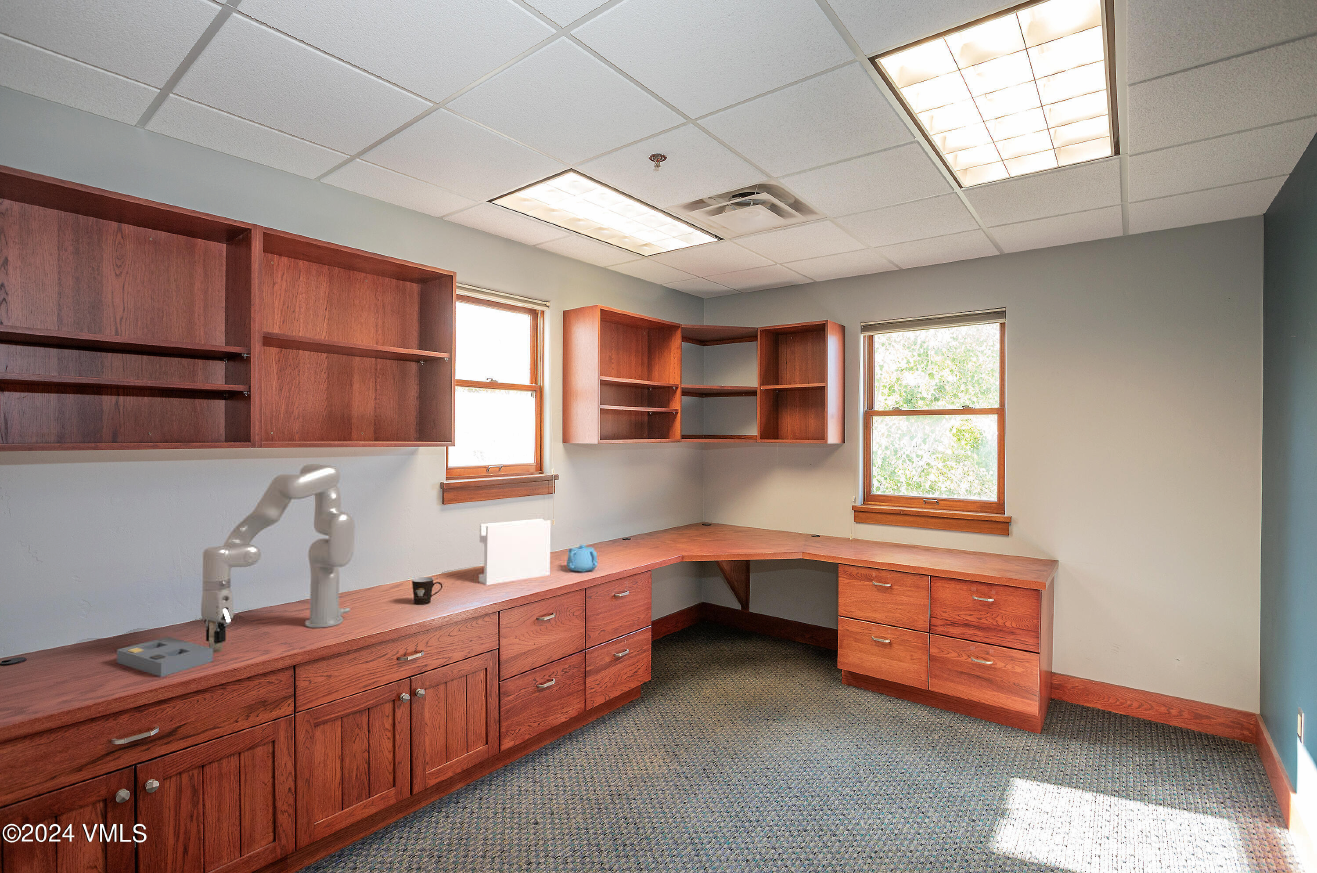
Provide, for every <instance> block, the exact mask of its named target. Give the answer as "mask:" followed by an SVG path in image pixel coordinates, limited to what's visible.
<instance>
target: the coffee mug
mask: <svg viewBox="0 0 1317 873" xmlns="http://www.w3.org/2000/svg"><path fill="white" fill-rule="evenodd" d="M411 582H412V583H411V586H412V594H413V604H414V605H416V606H425V605H429V604H430V603H431V600H432V597H434V596H435V595H437V594H438V593H439V592H441V590H442V589H443V583H441V582H440V581H435V582H434V577H432V576H431V577H430V576H421V577H414V578H412V579H411ZM436 584H439V585H440V588H439V589H438V591H436V592H434V593H433V588H434V587H435V585H436ZM432 593H433V594H432Z"/></svg>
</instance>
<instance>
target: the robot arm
mask: <svg viewBox="0 0 1317 873" xmlns="http://www.w3.org/2000/svg"><path fill="white" fill-rule="evenodd" d="M340 479H341V474H340V471H339V470H338V469H337V467H335V466H332V465H329V464H322V463H321V464H320V463H310V464H305V465H304V466H302V467H301V468H300V470H299V474H291V473H290V474H289V473H284V474H278V475H277V476H275V477H274V478H273V479H272V480H271V482H270V484H269V485H268V487H267V489H266V490H265V491H264V494H263V495H262V497H261V498H260V500H259V502H257V504H256V505H255V507H254V509H253V510H252V511H251V513H249V514H248V515H247V516H246V517H244V519H242V520H241V521H240V522H239V523H238V524H237V525H235V527H234V528H233V530H232V531H231V532H230V533H229V536H228V537H226V540H225V542H224V543H223V546H220V545H216V546H210V547H206V548H205V549H203V552H202V589H201V591H202V596H201V603H200V604H201V606H200V608H201V609H200V613H201V614H200V615H201V616H200V617H201V619H202V620H203V621H204V624H205V630H206V631H205V634H206V635H205V641H206V642H209V621H214V622H215V626H216V631H214V643H215V644H217V643H221V642H226V640H227V637H226V636H227V633H226V632H227V628H228V625H230V624H231V623H232V622H231V620H233V618H234V601H233V600H234V599H233V593H232V589H231V585H232V584H231V582H232V568H245V567H246V568H247V567H248V568H249V567H252V566H254V565H255V564H257V563H258V562H259V560H260V559H261V550H260V548H258V547H257V546H256V545H254V544H251V543H252V541H253V539H254V538H255V537H256V536H257V535H258V534H259V533H260V532H262V531H263V530H265V529H267V528H269V527H271V526H274V525H275V524H277V523H278V522H279V521H280V520H281V518H283V517H282V516H283V515H284V513H285V511H286V510H287V509H288V506H290V505H289V504H290V503H291V502H292V500H301V499H304V498H305V499H306V498H308V497H312V496H313V497H314V518H313V520H314V521H313V526H314V530H315V532H316V533H318V534H319V535H323V536H326V538H319V539H316V540H314V541H313V542H312V543H311V545H309V549H308V554H307V556H308V561H309V569H310V584H309V585H310V586H309V587H310V592H309V593H310V594H309V595H310V597H309V599H310V600H309V605H310V606H309V618H308V619H307V620H305V622H304V626H305V627H308V628H312V629H313V628H315V629H317V628H318V629H319V628H327V627H328V628H329V627H334V626H336V625H340V624H341V623H343V622H344V617H343V616H342V615H344V614H347V613H350V611H351V608H350V607H347V606H346V607H344V608H342V607H340V606H339V605H340V569H339V568H343V567H345V566H347V565H348V564H349V563H350V562H351V560H352V558H353V555H354V547H355V546H354V544H355V531H356V530H355V528H356V527H355V521H354V519H353V516H352V515H351V514H349V512H348V513H347V512H345V511H342V510H341V508H342V507H341V503H342V502H341V493H340V488H339V487H338V483H339V481H340ZM327 536H328V538H327ZM221 619H223V620H221ZM221 622H223V623H221ZM219 623H221V624H220V626H219Z"/></svg>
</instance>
